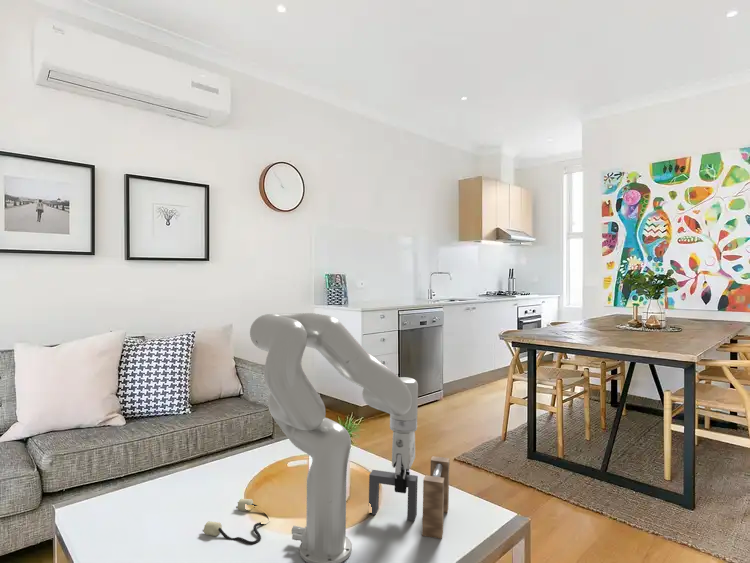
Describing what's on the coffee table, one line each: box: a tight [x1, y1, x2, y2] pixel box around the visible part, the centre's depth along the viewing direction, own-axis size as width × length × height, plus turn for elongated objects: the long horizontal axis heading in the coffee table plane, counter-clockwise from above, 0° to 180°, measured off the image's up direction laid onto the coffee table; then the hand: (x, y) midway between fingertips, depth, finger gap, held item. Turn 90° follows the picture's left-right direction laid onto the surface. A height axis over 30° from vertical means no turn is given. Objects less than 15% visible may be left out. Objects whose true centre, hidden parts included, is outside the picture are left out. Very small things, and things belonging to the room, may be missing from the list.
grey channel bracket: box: [368, 469, 418, 522], centre depth 130 cm, size 13×4×11 cm, turn 75°
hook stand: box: [421, 455, 451, 540], centre depth 127 cm, size 5×16×14 cm, turn 165°
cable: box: [202, 498, 263, 545], centre depth 124 cm, size 16×16×4 cm
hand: (402, 488), depth 129 cm, fingers closed on grey channel bracket, 3 cm apart
